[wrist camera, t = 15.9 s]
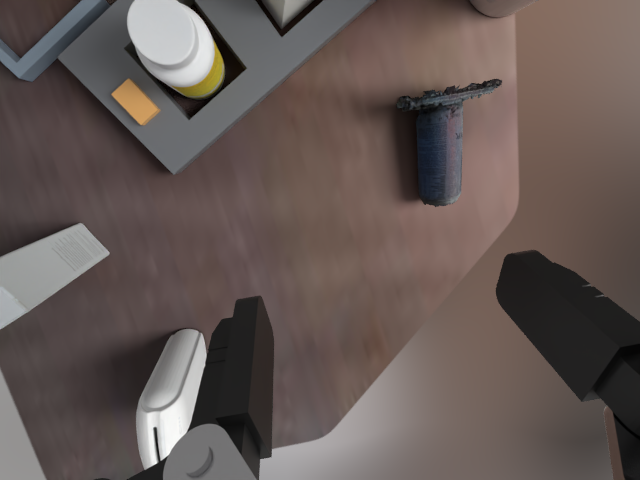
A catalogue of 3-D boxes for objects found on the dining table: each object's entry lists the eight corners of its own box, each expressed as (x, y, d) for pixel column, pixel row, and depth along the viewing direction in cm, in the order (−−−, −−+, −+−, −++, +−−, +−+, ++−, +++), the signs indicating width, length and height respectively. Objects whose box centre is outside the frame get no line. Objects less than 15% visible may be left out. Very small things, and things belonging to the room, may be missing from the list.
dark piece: (389, 98, 33) (400, 201, 38) (408, 93, 26) (418, 221, 30) (472, 79, 32) (473, 186, 37) (515, 69, 25) (510, 203, 30)
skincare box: (65, 283, 32) (-47, 359, 20) (32, 251, 30) (-108, 314, 19) (113, 253, 32) (28, 313, 20) (82, 220, 30) (-28, 264, 19)
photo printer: (213, 393, 39) (190, 499, 27) (178, 397, 38) (139, 507, 27) (206, 325, 36) (177, 412, 24) (168, 328, 35) (119, 419, 23)
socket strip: (300, -147, 25) (316, -276, 17) (380, -4, 29) (420, -57, 21) (75, 65, 26) (-2, 32, 19) (180, 172, 30) (152, 181, 23)
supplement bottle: (235, 58, 28) (221, 16, 19) (211, 111, 29) (185, 95, 20) (179, 21, 27) (133, -45, 17) (155, 78, 28) (99, 45, 18)
